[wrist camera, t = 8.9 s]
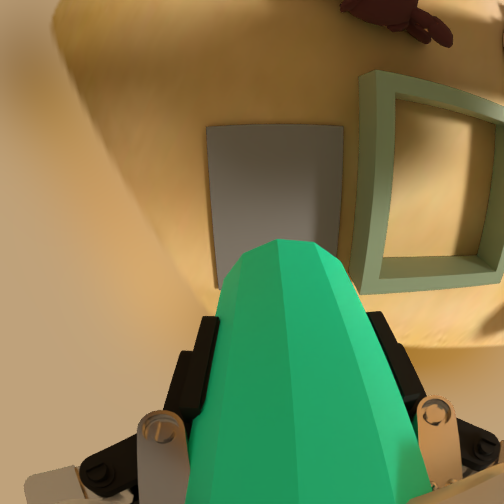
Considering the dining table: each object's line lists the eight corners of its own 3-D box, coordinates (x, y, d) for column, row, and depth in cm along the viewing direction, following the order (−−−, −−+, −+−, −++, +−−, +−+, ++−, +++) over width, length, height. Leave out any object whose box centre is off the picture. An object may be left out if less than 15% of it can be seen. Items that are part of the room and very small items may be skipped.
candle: (350, 335, 14) (407, 564, 3) (236, 352, 15) (213, 584, 4) (347, 227, 12) (504, 541, 1) (206, 250, 12) (100, 577, 1)
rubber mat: (207, 126, 22) (206, 127, 21) (342, 126, 21) (343, 126, 21) (219, 287, 28) (218, 289, 28) (332, 285, 28) (332, 288, 27)
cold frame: (358, 76, 19) (375, 69, 16) (503, 114, 19) (528, 118, 15) (348, 272, 27) (359, 295, 23) (481, 266, 26) (499, 283, 23)
